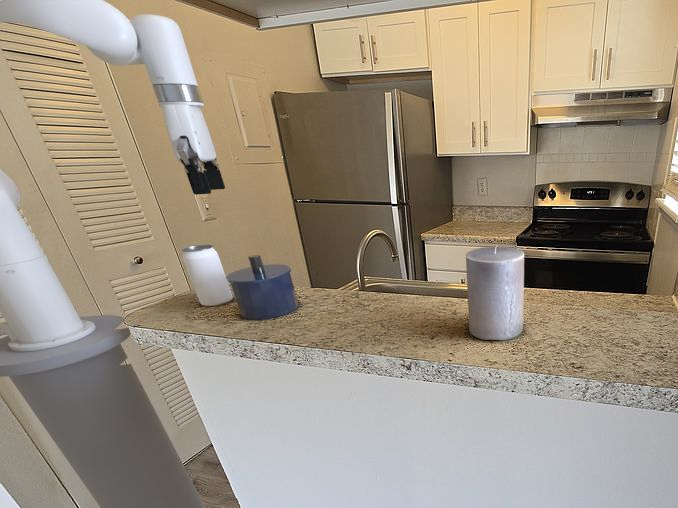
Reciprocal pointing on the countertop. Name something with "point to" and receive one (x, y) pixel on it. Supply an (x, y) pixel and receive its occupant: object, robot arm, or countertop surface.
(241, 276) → the pot lid
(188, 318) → the countertop surface
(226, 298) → the can
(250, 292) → the pot
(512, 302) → the pillar candle
